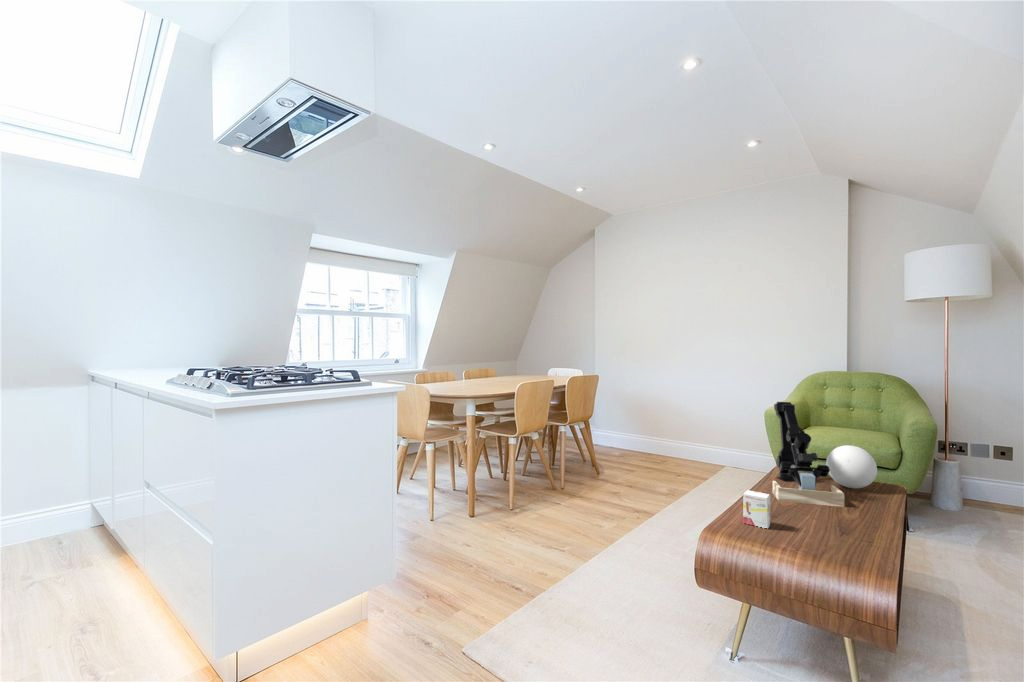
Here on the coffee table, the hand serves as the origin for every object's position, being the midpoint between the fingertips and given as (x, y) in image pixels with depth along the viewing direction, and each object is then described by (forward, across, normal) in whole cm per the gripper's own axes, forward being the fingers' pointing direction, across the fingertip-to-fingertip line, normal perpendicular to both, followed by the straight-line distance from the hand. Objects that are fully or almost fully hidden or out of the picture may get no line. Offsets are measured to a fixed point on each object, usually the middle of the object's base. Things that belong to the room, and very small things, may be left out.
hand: (807, 486), depth 203 cm
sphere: (-16, +26, +26) cm, 40 cm away
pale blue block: (+3, 0, +5) cm, 6 cm away
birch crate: (+4, 0, +6) cm, 7 cm away
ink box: (+30, -27, -20) cm, 45 cm away
